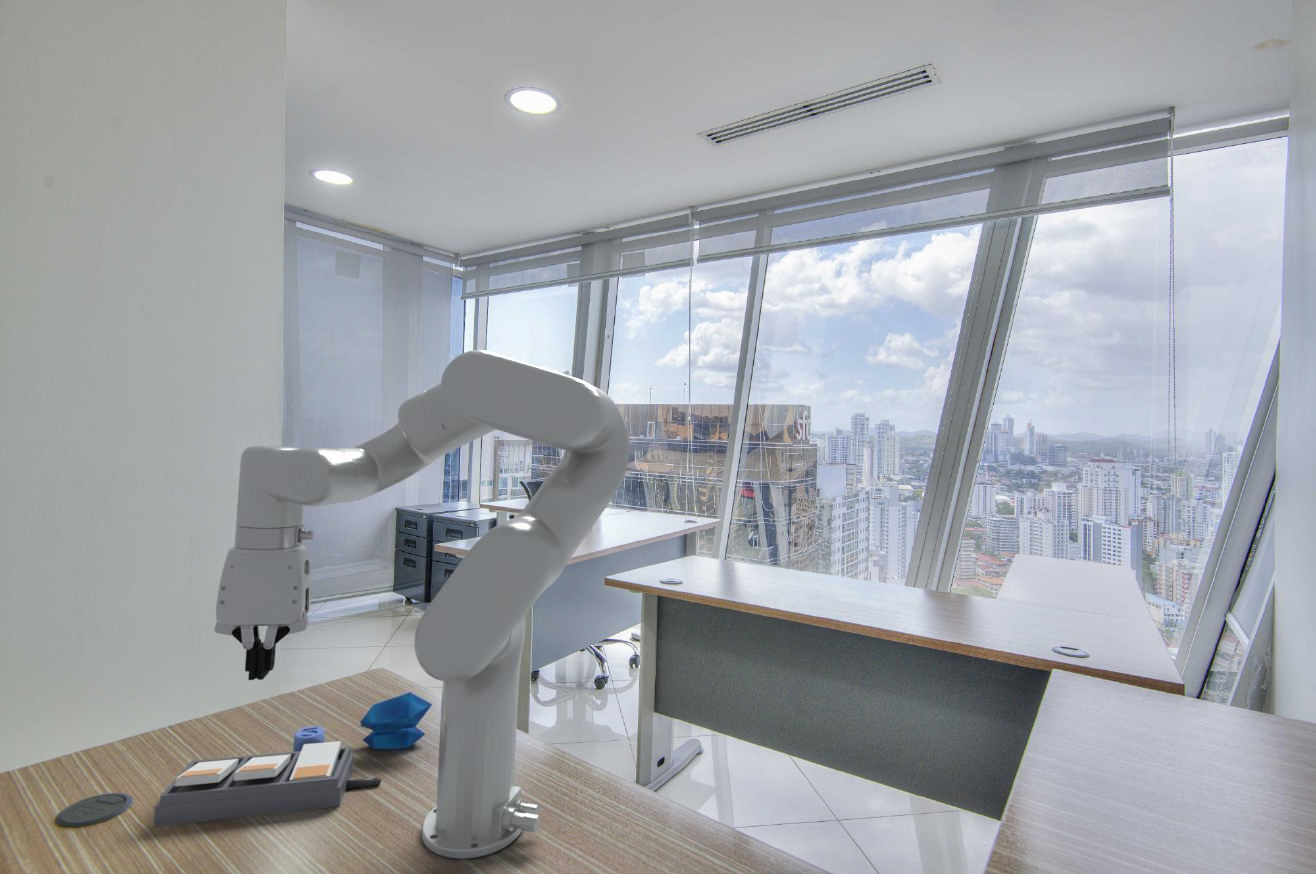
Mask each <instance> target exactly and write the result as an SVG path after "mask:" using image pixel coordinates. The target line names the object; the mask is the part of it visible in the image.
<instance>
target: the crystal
mask: <svg viewBox="0 0 1316 874" xmlns="http://www.w3.org/2000/svg"><path fill="white" fill-rule="evenodd" d="M432 706H433V704H432V703H431V702H428V700H426V699H424V698H423V697H420V696H418V695H417V694H415V693H413V692H412V691H410V692H406V693H404V694H401V695H398V696H395V697H392V698H388V699H386V700H383V701H380V702H377V703H374V704H373V705H372V706H371V707H370V708H369V709H368V711H367V712H366V714H365V715H364V716H363V718H362V719H361V720H360V721H359V724H360V727H362V728H365V729H368V730H370V731H371V732H370V733H368V735H366V736H365V737H364V738H363V739H362V741H363V742H364V743H366V745H368V747H370V748H371V749H372V750H373V749H375V751H376V749H380V750H381V749H384V750H408V749H409V748H411V747H412V746H413V745H414V744H416V743H417V742H418V741H419V740H420V739H422V738H423V737H424V736H425V735H426V733H425V732H423V731H422V730H421V729H419V728H418V727H417V725H418V724H419V723H420V722H421V720H423V717H424V716H425V715H426V714H427V712H428V711H429V710H430V709H431V707H432Z"/></svg>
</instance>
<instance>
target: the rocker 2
mask: <svg viewBox="0 0 1316 874" xmlns="http://www.w3.org/2000/svg"><path fill="white" fill-rule="evenodd" d="M340 748H342V740H341V741H340V740H339V741H337V740H336V741H326V742H325V741H324V743H313V744H304V745H303V748H302V750H301V753H300V755H299V758H298V760H297V763H296V765H295V767H294V770H293V772H292V775H291V777H290V780H289V781H298V780H308V779H318V778H328V777H331V776H332V773H333V770H334V767H335V764H336V761H337V758H338V754H339V751H340Z"/></svg>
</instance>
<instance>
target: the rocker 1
mask: <svg viewBox="0 0 1316 874" xmlns="http://www.w3.org/2000/svg"><path fill="white" fill-rule="evenodd" d="M238 761H239V759H232V760H220V761H209V762H199V763H197V764H196V765H194V766H193V767H191V768H190V769H188V770H187V771H185V772H184V773H183V774H181V775H180V776H177V777H176V778H175V779H176V782H175V786H185V785H195V784H206V783H216V782H220V781H221V780H222V779H223V778H225V777H226V776H228V774H229V773H231V772H232V771H233V770H234V769H236V768H237V767H238Z"/></svg>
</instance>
